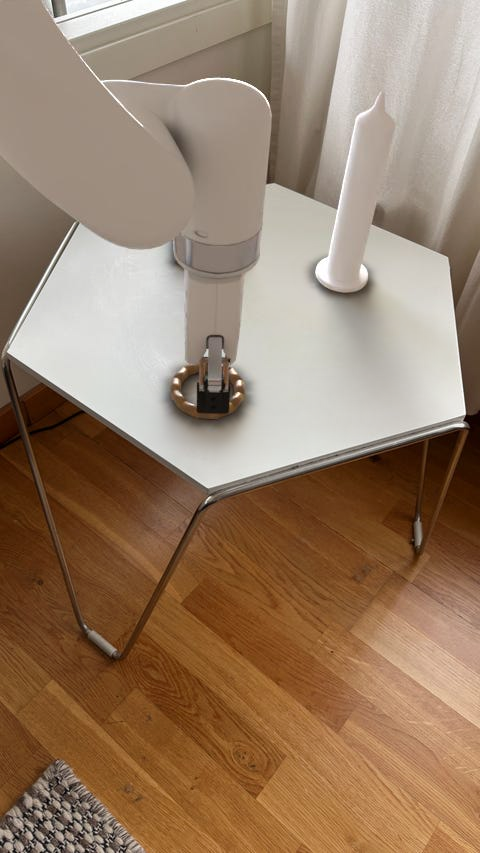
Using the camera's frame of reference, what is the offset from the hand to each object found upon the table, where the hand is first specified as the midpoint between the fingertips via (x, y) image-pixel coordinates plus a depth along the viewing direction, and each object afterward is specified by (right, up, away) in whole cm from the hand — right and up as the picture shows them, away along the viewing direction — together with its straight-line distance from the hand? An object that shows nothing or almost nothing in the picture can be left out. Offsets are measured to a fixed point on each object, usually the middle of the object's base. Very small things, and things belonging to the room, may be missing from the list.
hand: (212, 375), depth 74 cm
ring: (-1, -1, +7) cm, 7 cm away
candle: (+17, +15, +22) cm, 32 cm away
